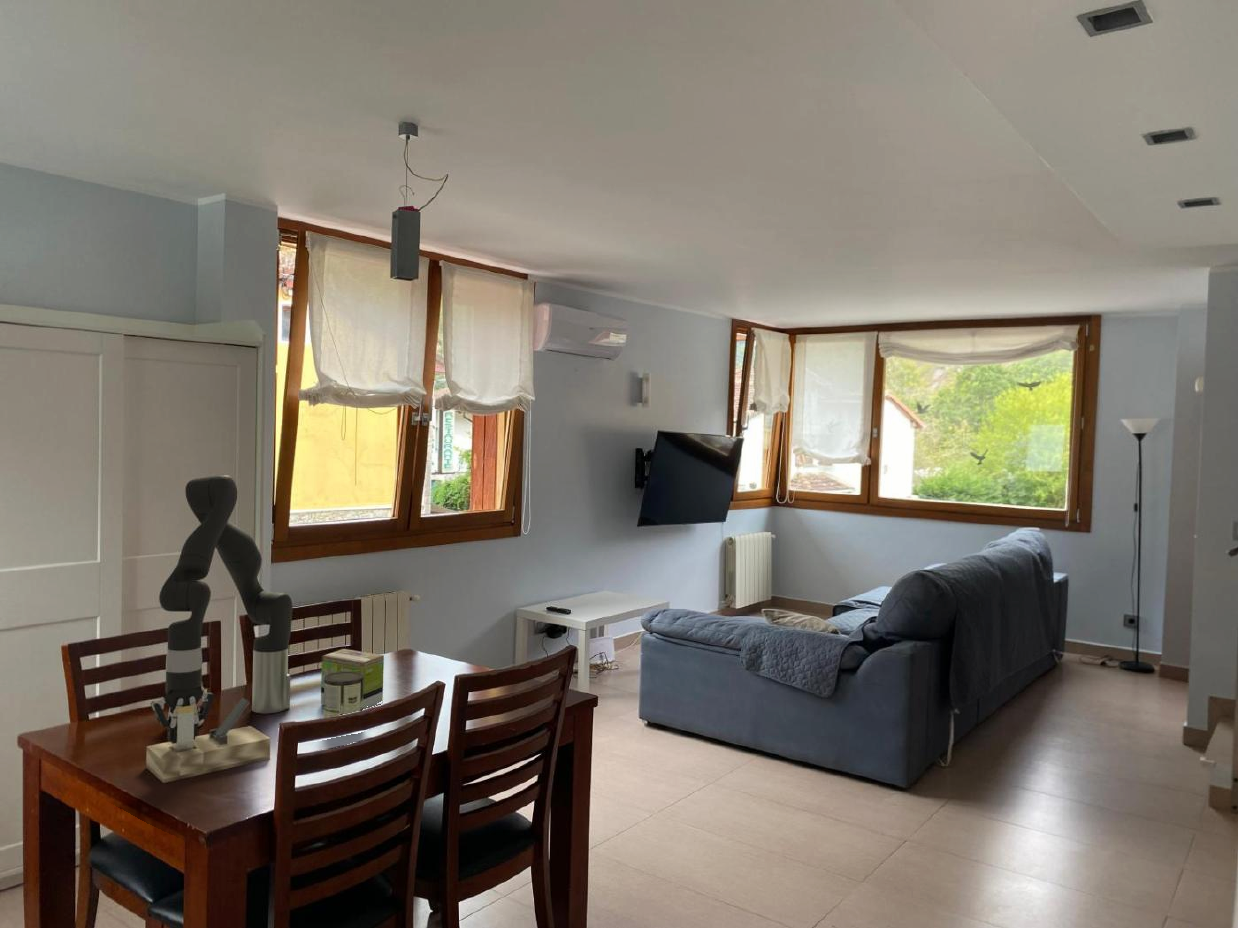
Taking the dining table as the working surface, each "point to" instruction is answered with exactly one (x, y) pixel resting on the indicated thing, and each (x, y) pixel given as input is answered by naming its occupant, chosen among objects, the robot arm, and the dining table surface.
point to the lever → (231, 718)
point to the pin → (184, 729)
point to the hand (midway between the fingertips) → (182, 740)
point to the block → (208, 754)
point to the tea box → (358, 663)
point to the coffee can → (343, 693)
